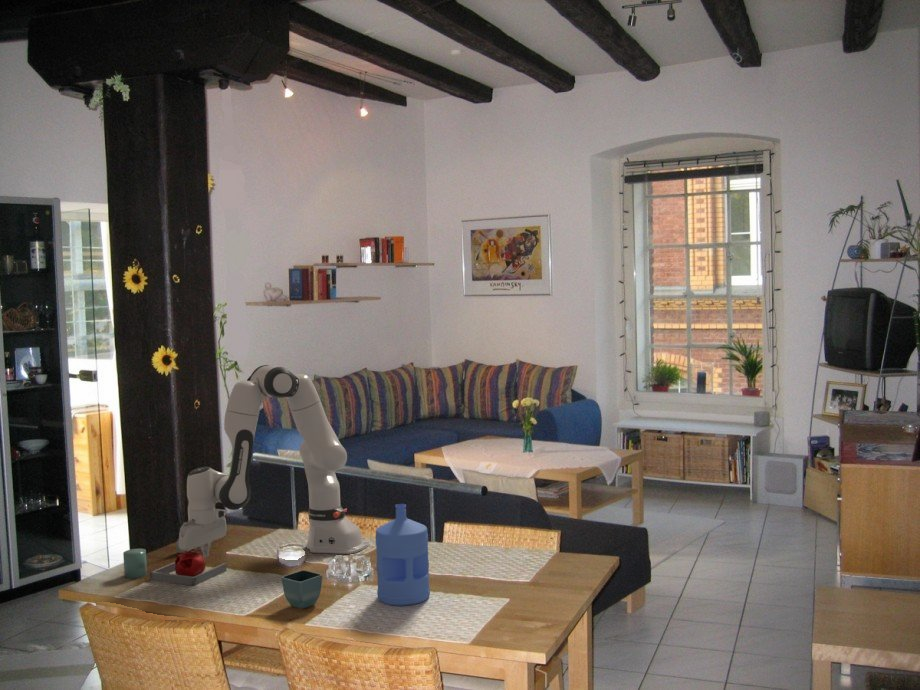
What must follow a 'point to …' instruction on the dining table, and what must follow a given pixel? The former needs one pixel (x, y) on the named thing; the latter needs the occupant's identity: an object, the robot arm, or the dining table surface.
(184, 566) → the pomegranate
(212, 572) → the grey shallow tray frame
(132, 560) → the rounded teal cylinder
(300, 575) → the flower pot
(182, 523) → the reed diffuser
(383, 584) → the water jug
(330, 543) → the robot arm
